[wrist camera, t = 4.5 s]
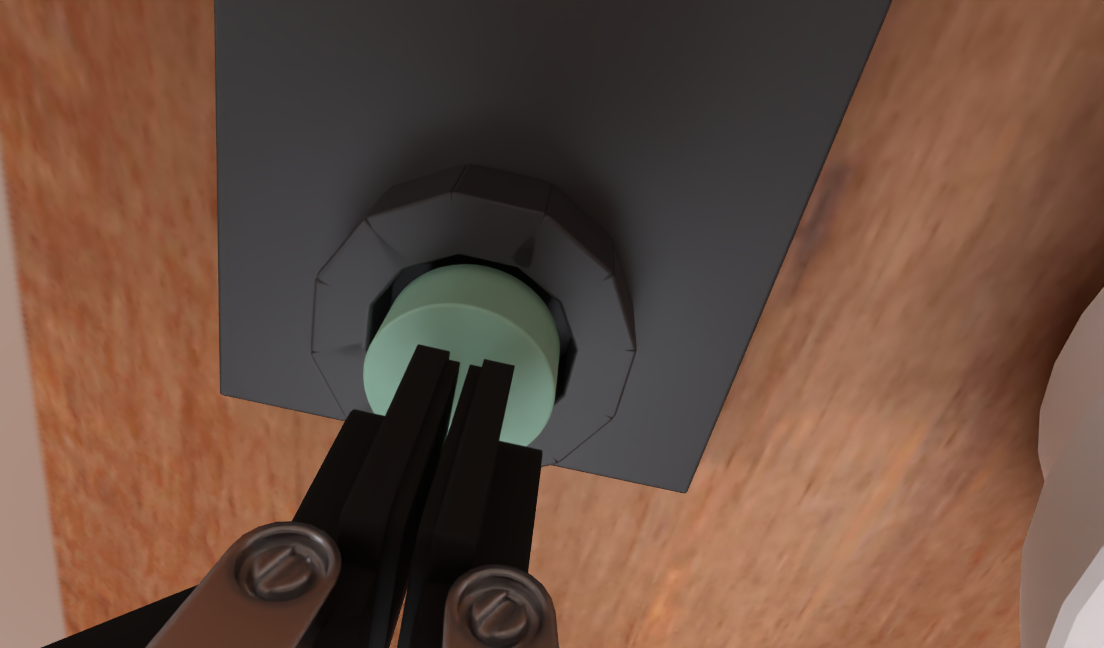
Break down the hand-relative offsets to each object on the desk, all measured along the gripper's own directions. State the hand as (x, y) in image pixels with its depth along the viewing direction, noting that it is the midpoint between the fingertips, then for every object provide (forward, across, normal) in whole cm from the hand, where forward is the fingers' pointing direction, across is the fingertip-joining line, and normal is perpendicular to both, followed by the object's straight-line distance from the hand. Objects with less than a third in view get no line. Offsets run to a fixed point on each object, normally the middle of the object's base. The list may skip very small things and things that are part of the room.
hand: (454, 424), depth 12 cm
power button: (+3, 0, 0) cm, 3 cm away
